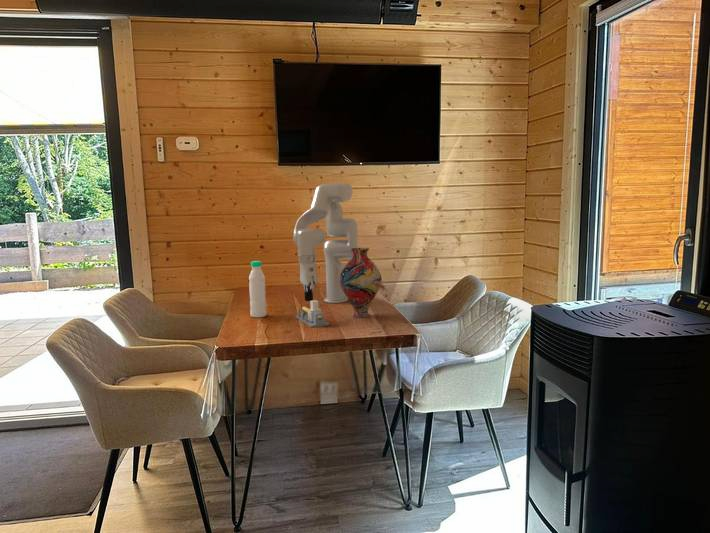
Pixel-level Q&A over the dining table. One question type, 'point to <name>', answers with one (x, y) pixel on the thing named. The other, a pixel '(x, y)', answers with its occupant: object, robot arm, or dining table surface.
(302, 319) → the gray rack
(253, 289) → the water bottle
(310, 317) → the small white bottle
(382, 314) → the dining table surface
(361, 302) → the vase
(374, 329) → the dining table surface
